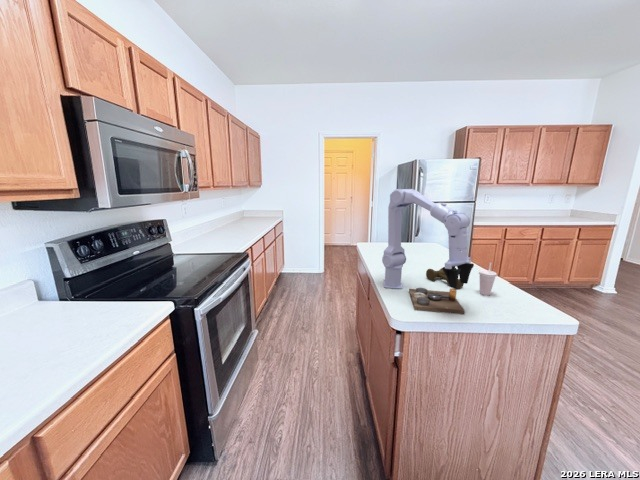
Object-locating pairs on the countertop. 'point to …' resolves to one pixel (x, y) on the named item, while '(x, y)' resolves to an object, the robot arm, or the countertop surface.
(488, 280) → the smoothie
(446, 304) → the base
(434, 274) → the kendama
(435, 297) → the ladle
